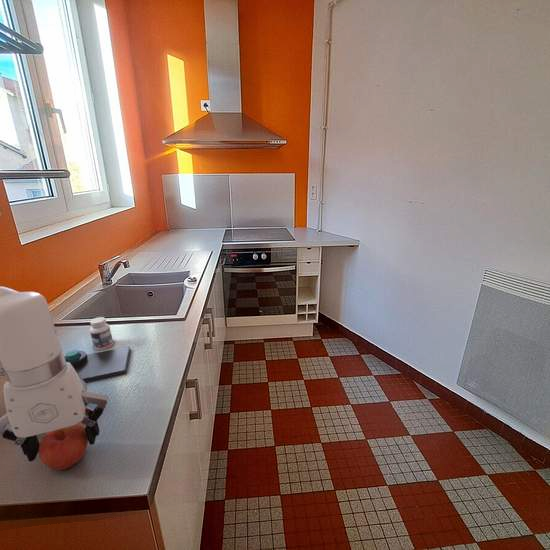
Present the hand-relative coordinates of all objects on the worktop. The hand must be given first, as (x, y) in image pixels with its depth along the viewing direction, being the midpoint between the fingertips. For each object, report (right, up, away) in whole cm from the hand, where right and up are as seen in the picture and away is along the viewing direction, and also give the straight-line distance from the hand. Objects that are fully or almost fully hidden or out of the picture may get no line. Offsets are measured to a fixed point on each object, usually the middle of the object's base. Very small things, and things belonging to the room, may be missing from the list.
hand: (65, 446), depth 55 cm
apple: (0, -4, +1) cm, 4 cm away
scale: (-11, +6, +28) cm, 30 cm away
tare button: (-17, +8, +28) cm, 34 cm away
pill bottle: (-15, +9, +38) cm, 42 cm away
